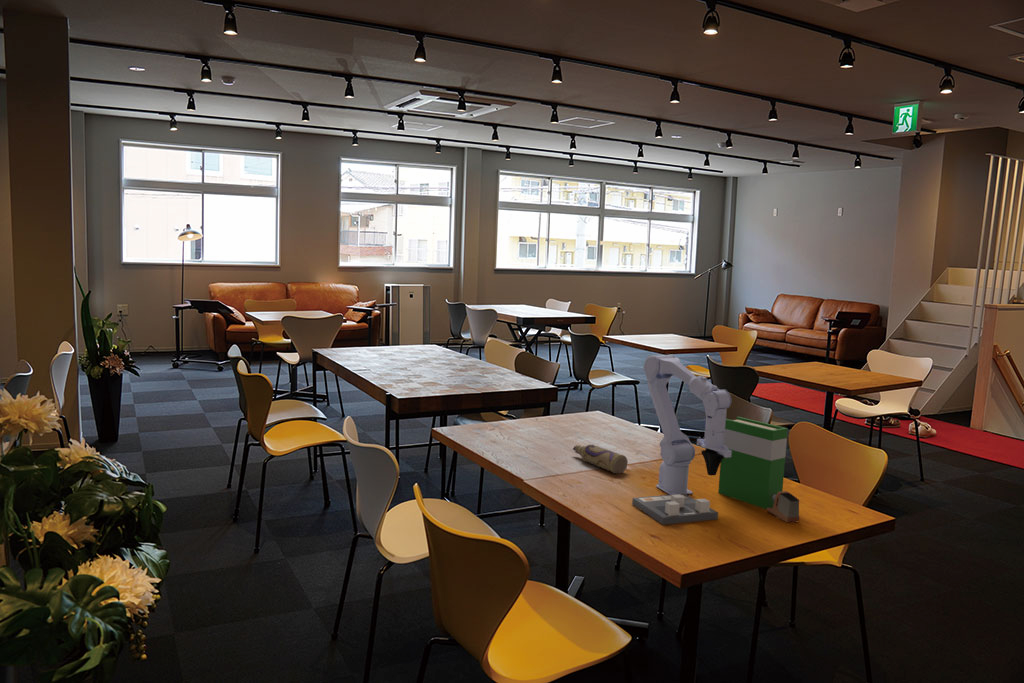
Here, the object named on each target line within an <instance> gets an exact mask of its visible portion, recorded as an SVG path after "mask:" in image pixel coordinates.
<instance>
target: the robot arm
mask: <svg viewBox="0 0 1024 683" xmlns="http://www.w3.org/2000/svg"><path fill="white" fill-rule="evenodd" d="M643 363H644V364H643V366H642V368H643V370H644V373H645V376H646V380H647V387H648V390H649V393H650V397H651V400H652V402H653V406H654V409H655V412H656V416H657V418H658V421H659V424H660V428H661V431H662V434H663V437H662V439H661V440H660V442H659V446H660V456H661V459H662V462H661V463H660V465H659V467H658V468H659V470H658V484H655V487H656V488H658V489H659V490H661V491H663V492H665V493H666V494H667V495H673V494H686V495H692V494H693V491H691V490H690V489H688V483H689V470H690V468H689V467H690V465H691V462H692V461H693V460H694V459H695V457H696V450H695V446H694V445H693V443H692V442H691V441H690V438H689V436H688V435H687V434H686V433H683V432H682V431H681V427H680V424H679V421H678V419H677V416H676V413H675V410H674V406H673V403H672V401H671V398H670V395H669V392H668V388H667V384H668V383H669V382H670V380H671V379H672V378H673V376H674V377H676V378H678V379H679V380H681V381H682V382H683V383H685V384H686V385H688V390H689V391H690V392H691V393H692V394H693V395H695V396H696V397H697V398H698V399H700V400H701V401H702V405H703V407H704V409H705V410H704V413H705V428H704V438H697V439H696V446H700V447H701V448H703V449H705V450H701V454H702V456H703V459H704V462H705V466H706V468H705V469H706V472H707V475H708V476H716V475H717V473H718V469H719V468H720V464H721V461H722V459H723V458H724V457H725V458H728V457H731V454H732V451H731V450H729V449H728V448H727V447H725V446H724V438H725V424H726V419H727V409H729V408H730V407H731V405H732V402H733V401H732V396H731V394H730V392H729V391H728V390H727V389H720V388H718V386H717V385H714V384H712V382H710V381H709V380H708V378H707V377H706V376H701V375H698V376H696V375H695V374H694V373H692V371H691V370H689V369H688V368H687V367H686V366H685V365H684V364H682V362H681V360H680V358H679V357H676V355H674V354H663V355H662V354H658V355H654V354H652V355H648V356H647V357H646V359H645V361H644V362H643Z"/></svg>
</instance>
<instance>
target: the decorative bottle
mask: <svg viewBox="0 0 1024 683" xmlns="http://www.w3.org/2000/svg"><path fill="white" fill-rule="evenodd" d="M572 450H573V451H575V453H576V454H578V455H579V456H580V458H581V459H582V460H583V461H584V462H585V461H586V462H585V463H588V462H589V463H588V464H590V463H591V464H590V465H592V464H594V465H593V466H595V465H596V467H598V468H600V467H601V469H603V470H605V469H606V470H605V471H608V472H610V471H611V473H612V474H615V473H621V474H622V473H624V472H625V471H626V470H627V468H628V458H627V457H626V456H625V455H624V454H620V453H618V452H616V451H612V450H610V449H609V450H608V448H607V449H606V448H604V447H600V446H598V445H594V444H586V445H585V446H584V445H575V446H574V447H573V448H572Z"/></svg>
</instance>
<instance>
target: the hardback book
mask: <svg viewBox="0 0 1024 683" xmlns="http://www.w3.org/2000/svg"><path fill="white" fill-rule="evenodd" d="M788 430H789V429H788V427H784V426H781V425H780V426H779V425H775V424H771V423H770V424H769V423H766V422H763V421H758V420H754V419H749V418H747V417H746V418H745V417H741V416H736V419H728V418H726V424H725V438H724V446H725V447H727V448H728V449H729V450H731V451H732V454H731V457H728V458H725V457H724V458H723V459H722V461H721V463H720V465H719V477H718V478H719V481H718V491H717V492H718V494H720V495H724V496H726V497H729V498H732V499H734V498H735V500H737V501H740V500H741V502H743V503H747V504H749V505H752V506H755V507H758V508H761V509H763V510H766V509H767V508H772V507H773V505H774V501H773V500H772V498H771V496H772V495H773V494H777V493H778V492H781V491H784V488H783V487H784V478H785V463H786V456H787V454H786V453H787V443H788Z"/></svg>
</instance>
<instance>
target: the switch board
mask: <svg viewBox="0 0 1024 683" xmlns="http://www.w3.org/2000/svg"><path fill="white" fill-rule="evenodd" d="M673 495H677V494H673ZM680 495H682V496H684V497H685V503H684V507H680V508H679V515H668V514H667V513H665V503H666V502H671V495H670V494H665V495H664V494H663V495H650V496H641V497H640V496H639V497H632V504H633V505H632V506H634V505H635V506H636V509H638V508H639V509H638V510H640V509H641V510H642V511H641V510H640V511H641V512H643V513H644V512H645V513H644V514H646V515H647V514H648V515H647V516H648V517H650V518H652V519H654V520H655V521H656V522H658V523H659V524H661V525H663V526H664V525H673V524H684V523H694V522H704V521H712V520H713V521H715V520H718V519H719V511H716V510H715V509H714V508H711V507H710V508H709V512H699V511H697V510H695V505H696V499H695V498H693V497H692V496H690V495H689V494H680ZM635 506H634V507H635Z"/></svg>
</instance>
